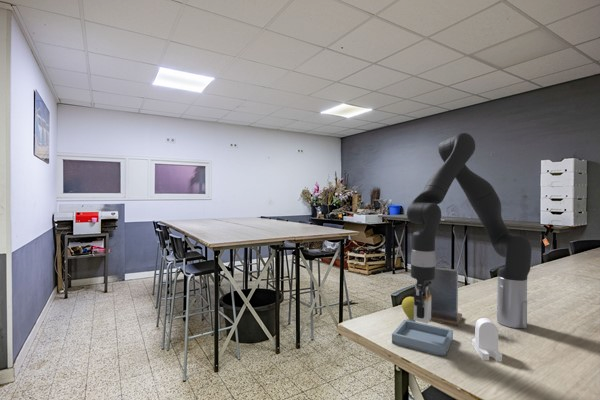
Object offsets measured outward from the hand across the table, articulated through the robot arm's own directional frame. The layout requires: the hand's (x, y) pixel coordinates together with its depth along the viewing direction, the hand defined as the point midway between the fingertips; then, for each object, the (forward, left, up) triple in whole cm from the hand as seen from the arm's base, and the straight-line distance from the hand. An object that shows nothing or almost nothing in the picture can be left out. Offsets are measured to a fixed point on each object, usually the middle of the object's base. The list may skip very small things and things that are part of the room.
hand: (422, 315), depth 106 cm
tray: (0, 0, -9) cm, 9 cm away
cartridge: (0, 0, -1) cm, 1 cm away
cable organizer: (-18, -3, -9) cm, 20 cm away
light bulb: (+7, -12, -9) cm, 16 cm away
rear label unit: (0, -24, -9) cm, 25 cm away
